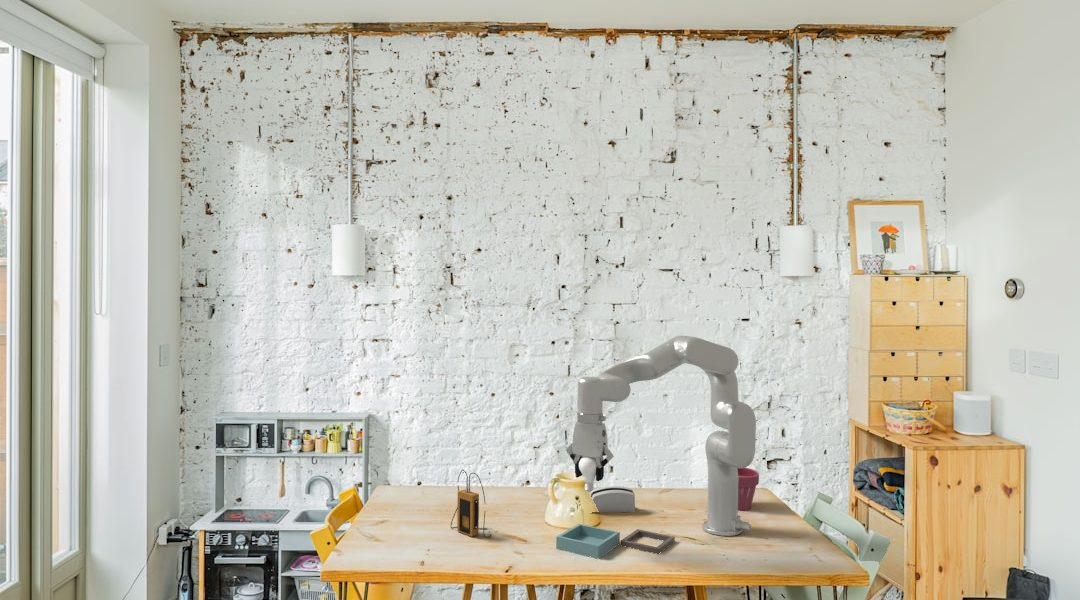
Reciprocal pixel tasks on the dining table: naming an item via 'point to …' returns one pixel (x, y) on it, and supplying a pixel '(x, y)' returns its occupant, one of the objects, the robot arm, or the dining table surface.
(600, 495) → the grey rounded block
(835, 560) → the dining table surface
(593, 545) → the parts tray
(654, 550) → the dark brown square frame
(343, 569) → the dining table surface
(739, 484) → the plant pot
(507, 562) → the dining table surface
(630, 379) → the robot arm
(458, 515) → the multimeter
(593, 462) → the lightbulb
